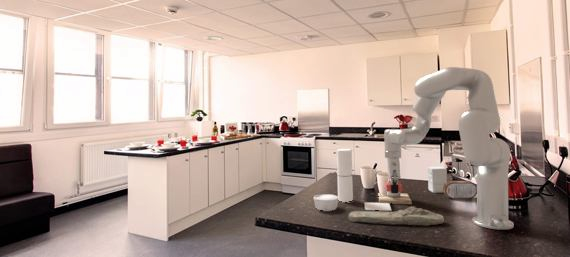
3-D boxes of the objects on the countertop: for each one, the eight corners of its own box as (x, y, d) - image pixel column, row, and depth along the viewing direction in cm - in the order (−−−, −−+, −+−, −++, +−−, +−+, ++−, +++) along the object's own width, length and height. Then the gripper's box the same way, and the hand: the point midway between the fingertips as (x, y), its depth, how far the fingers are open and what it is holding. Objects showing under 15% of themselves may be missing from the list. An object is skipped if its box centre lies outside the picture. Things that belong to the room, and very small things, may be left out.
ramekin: (320, 203, 149) (319, 193, 149) (342, 206, 143) (342, 195, 143) (309, 210, 139) (309, 198, 139) (333, 213, 134) (332, 201, 133)
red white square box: (402, 191, 147) (402, 185, 147) (386, 191, 149) (386, 184, 149) (400, 187, 154) (400, 181, 154) (385, 187, 156) (385, 181, 156)
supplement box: (442, 189, 169) (442, 166, 168) (447, 192, 161) (447, 168, 161) (428, 189, 170) (427, 166, 169) (432, 192, 162) (432, 168, 162)
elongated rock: (349, 219, 130) (349, 229, 120) (348, 207, 130) (347, 215, 120) (439, 217, 122) (447, 227, 113) (439, 204, 122) (446, 213, 112)
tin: (475, 197, 151) (475, 180, 151) (478, 199, 148) (478, 181, 148) (442, 197, 153) (442, 180, 152) (445, 199, 150) (445, 181, 149)
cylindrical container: (337, 202, 150) (336, 150, 150) (338, 198, 157) (337, 149, 157) (352, 202, 149) (351, 150, 148) (353, 198, 156) (351, 148, 155)
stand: (411, 204, 143) (411, 184, 143) (379, 203, 146) (379, 184, 146) (407, 196, 157) (406, 178, 157) (378, 195, 160) (377, 178, 160)
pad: (391, 211, 134) (391, 210, 134) (365, 210, 136) (364, 209, 136) (389, 204, 145) (389, 203, 145) (364, 203, 147) (364, 202, 147)
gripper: (403, 156, 142) (404, 195, 142) (398, 152, 159) (399, 187, 159) (386, 157, 143) (387, 195, 144) (383, 152, 160) (384, 187, 161)
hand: (393, 190), depth 152 cm, fingers closed on red white square box, 7 cm apart
